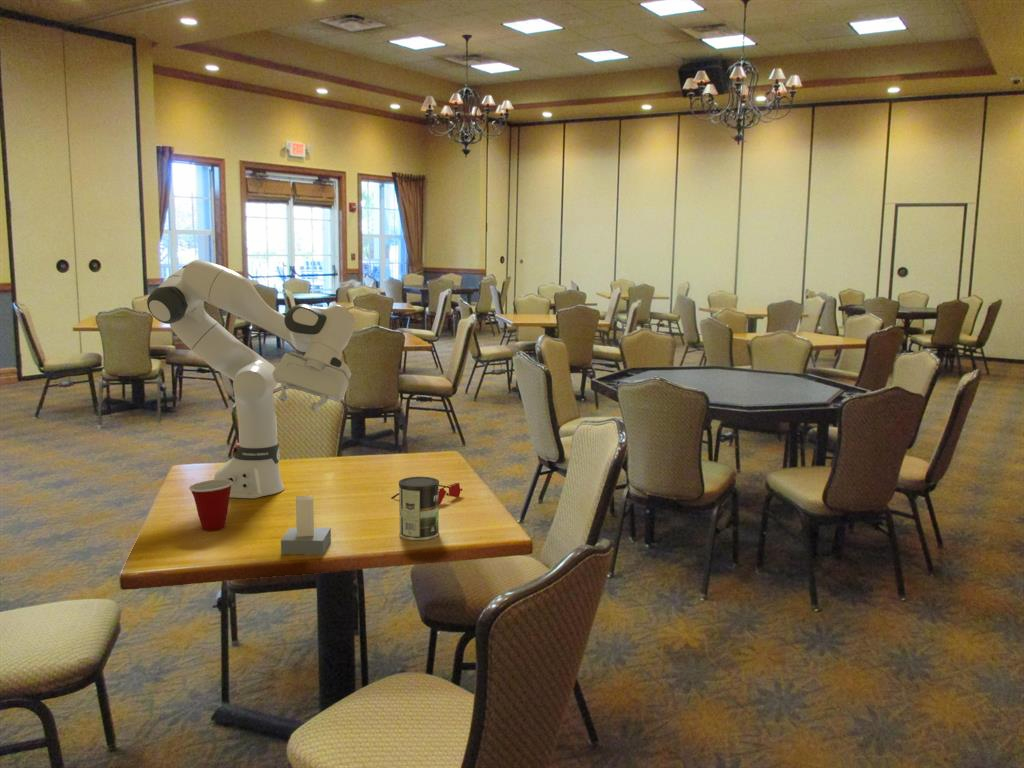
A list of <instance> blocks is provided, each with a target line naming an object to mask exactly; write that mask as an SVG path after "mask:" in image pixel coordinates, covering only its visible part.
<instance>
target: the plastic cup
mask: <svg viewBox="0 0 1024 768" xmlns="http://www.w3.org/2000/svg"><path fill="white" fill-rule="evenodd" d="M232 484H233V481H231V480H226V479H218V480H214V479H211V480H204V481H201V482H197V483H194V484H192V485H190V486H189V487H188V489H189V490H190V492H191V494H192V497H193V499H194V502H195V503H194V504H195V506H196V511H197V517H198V519H199V523H200V527H201V529H202V530H203V531H207V532H216V531H220V530H222V529H225V528H226V524H227V517H228V512H229V503H230V497H229V496H230V490H231V485H232Z"/></svg>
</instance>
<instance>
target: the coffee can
mask: <svg viewBox="0 0 1024 768" xmlns="http://www.w3.org/2000/svg"><path fill="white" fill-rule="evenodd" d="M439 485H440V481H439V480H438V479H437V478H435V477H430V476H409V477H405V478H402V479H400V480H399V481H398V486H399V489H398V490H399V492H398V493H399V495H398V496H399V498H398V499H399V508H398V509H399V511H398V512H399V536H401V537H400V538H402V539H404V538H405V540H408V541H426V540H432V539H434V538H437V537H438V536H439V535H440V534H439V533H440V532H439V528H440V527H439V519H440V518H439V510H440V509H439V498H438V497H439V496H438V494H439V489H440V486H439Z"/></svg>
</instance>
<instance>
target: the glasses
mask: <svg viewBox="0 0 1024 768" xmlns="http://www.w3.org/2000/svg"><path fill="white" fill-rule="evenodd" d="M439 487H441V488H439V494H438V496H439V497H438V498H439V504H440V505H441V503H442V502H443V500H444V499H445V497H450V496H451V497H453V498H454V497H455V498H459V497H460V494H461V492H462V491H463V488H461V487H460V482H455V483H453V484H450V485H442V484H439ZM445 488H447V489H448V492H447V490H446V489H445ZM446 495H447V496H446ZM397 496H399V492H398V493H396V494H395V495H393V496H392V497H390V499H392V498H393V499H395V498H396V497H397Z"/></svg>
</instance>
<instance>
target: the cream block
mask: <svg viewBox="0 0 1024 768" xmlns="http://www.w3.org/2000/svg"><path fill="white" fill-rule="evenodd" d="M314 511H315V510H314V495H296V498H295V516H296V517H295V518H296V523H295V524H296V527H297V537H302V536H314V528H315V522H314V521H315V517H314V516H315V515H314V513H315V512H314Z"/></svg>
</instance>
